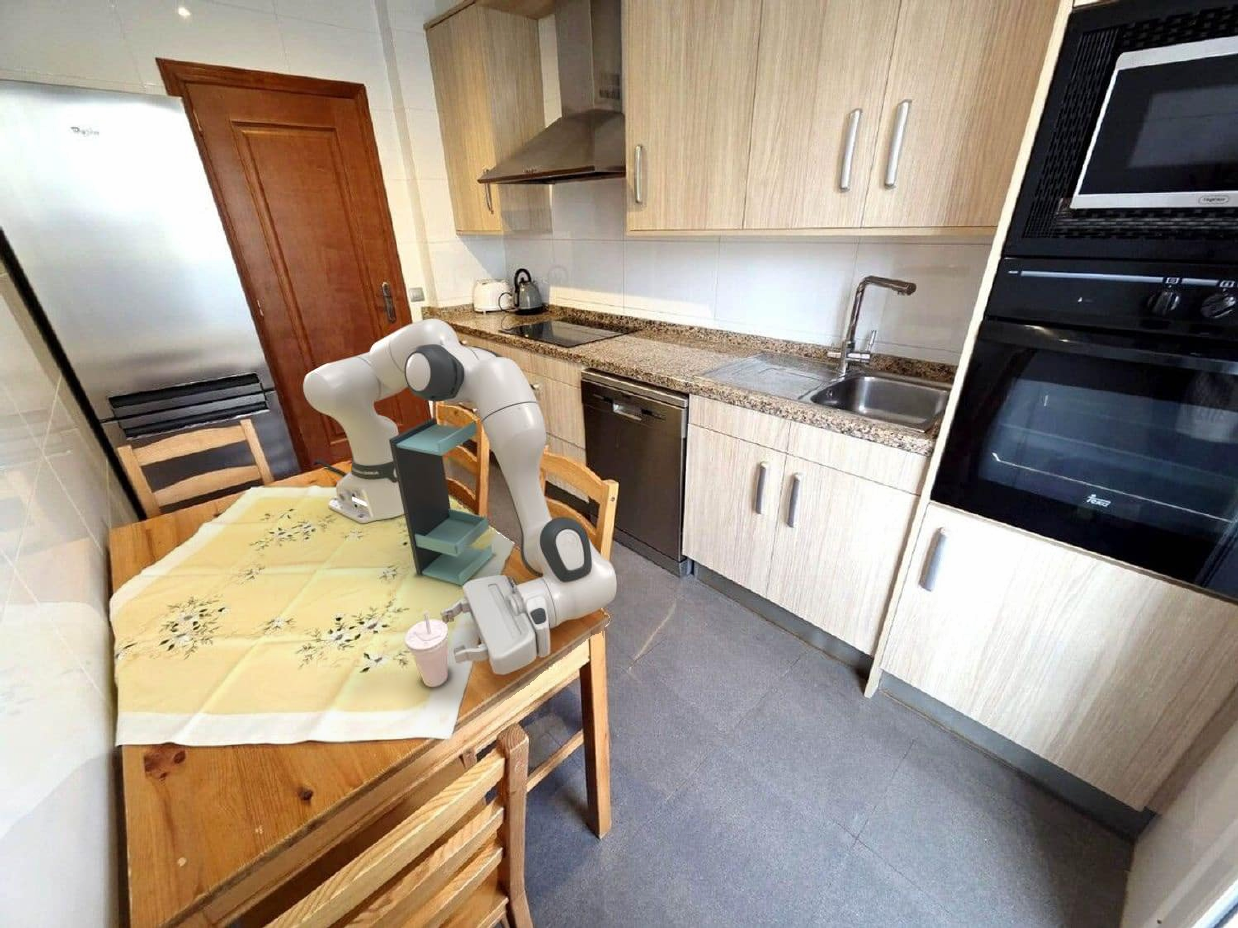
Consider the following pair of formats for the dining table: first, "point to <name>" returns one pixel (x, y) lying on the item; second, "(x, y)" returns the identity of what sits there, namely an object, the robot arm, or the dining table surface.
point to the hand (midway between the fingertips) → (447, 636)
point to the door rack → (436, 503)
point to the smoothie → (429, 649)
